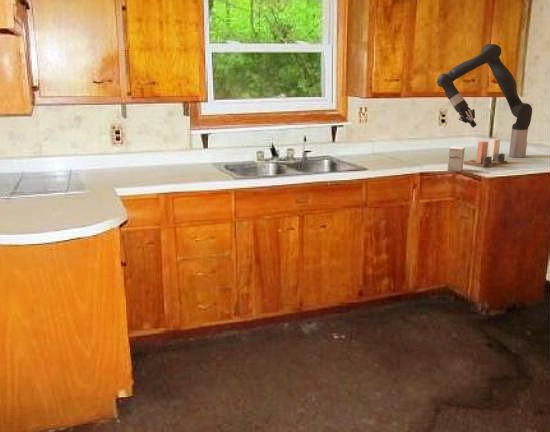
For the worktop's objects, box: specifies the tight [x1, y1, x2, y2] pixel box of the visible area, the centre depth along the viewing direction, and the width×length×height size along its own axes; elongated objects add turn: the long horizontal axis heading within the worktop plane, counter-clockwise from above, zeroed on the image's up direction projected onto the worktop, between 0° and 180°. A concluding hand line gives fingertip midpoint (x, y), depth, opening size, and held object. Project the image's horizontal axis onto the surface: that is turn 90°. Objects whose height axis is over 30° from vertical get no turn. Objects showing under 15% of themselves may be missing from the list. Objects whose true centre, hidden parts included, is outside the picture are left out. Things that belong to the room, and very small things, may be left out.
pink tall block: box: [475, 140, 489, 163], centre depth 307 cm, size 5×3×12 cm, turn 121°
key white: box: [488, 138, 501, 160], centre depth 316 cm, size 5×3×12 cm, turn 121°
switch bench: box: [463, 153, 509, 168], centre depth 314 cm, size 22×14×6 cm, turn 121°
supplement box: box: [447, 145, 466, 172], centre depth 297 cm, size 7×7×13 cm
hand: (474, 126), depth 319 cm, fingers closed
